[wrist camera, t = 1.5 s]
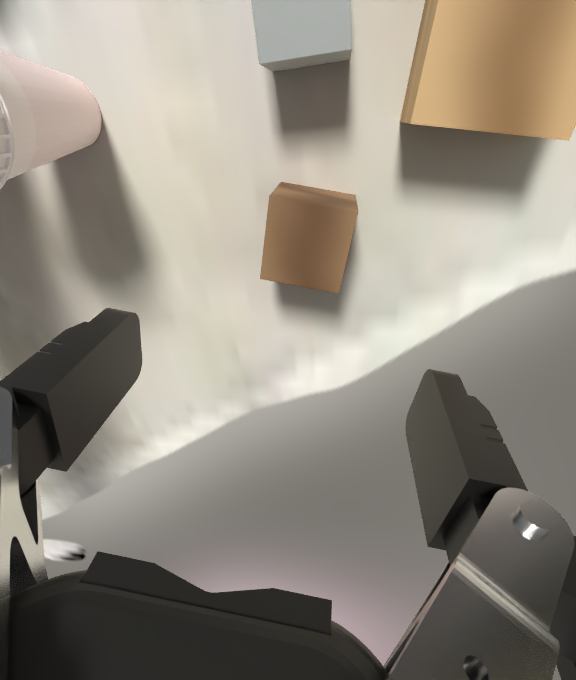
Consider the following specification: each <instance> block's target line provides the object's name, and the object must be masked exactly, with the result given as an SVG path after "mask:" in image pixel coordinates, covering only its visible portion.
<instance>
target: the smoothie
mask: <svg viewBox="0 0 576 680" xmlns="http://www.w3.org/2000/svg"><path fill="white" fill-rule="evenodd" d="M101 125H102V119H101V112H100V109H99V106H98V103H97V101H96V99H95V97H94V95H93V94H92V92H91V91H90V90H89V89H88V88H87V86H86V85H85V84H83V83H82V82H81V81H80V80H78V79H77V78H75V77H72V76H70V75H67V74H64V73H62V72H59V71H56V70H53V69H50V68H48V67H45V66H42V65H39V64H36V63H34V62H31V61H28V60H25V59H22V58H20V57H17V56H14V55H11V54H8V53H6V52H3V51H0V189H1V188H2V187H3V185H4V184H5V183H6V181H7V180H8V179H11V178H14V177H16V176H18V175H20V174H22V173H25V172H27V171H30V170H32V169H34V168H37V167H39V166H42V165H44V164H46V163H49V162H51V161H54V160H56V159H58V158H61V157H63V156H66V155H68V154H71V153H73V152H75V151H78V150H80V149H83V148H85V147H87V146H90V145H91V144H93V143H94V142H95V141H96V140H97V138H98V136H99V134H100V131H101Z"/></svg>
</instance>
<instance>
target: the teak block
mask: <svg viewBox="0 0 576 680" xmlns="http://www.w3.org/2000/svg"><path fill="white" fill-rule="evenodd" d="M400 122H404V123H409V124H416V125H426V126H435V127H445V128H454V129H464V130H473V131H483V132H492V133H502V134H511V135H521V136H530V137H540V138H549V139H559V140H568V141H569V139H570V137H571V135H572V132H573V130H574V128H575V125H576V0H425V5H424V10H423V15H422V19H421V24H420V29H419V33H418V38H417V43H416V48H415V52H414V57H413V62H412V67H411V71H410V76H409V81H408V86H407V90H406V95H405V100H404V104H403V109H402V114H401V119H400Z"/></svg>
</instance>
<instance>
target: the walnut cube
mask: <svg viewBox="0 0 576 680" xmlns="http://www.w3.org/2000/svg"><path fill="white" fill-rule="evenodd" d="M357 215H358V207H357V202H356V196H355V195H352V194H347V193H341V192H335V191H330V190H324V189H318V188H313V187H307V186H301V185H295V184H290V183H284V182H281V183H280V184H279V185H278V186H277V188H276V189H275V190H274V191H273V192H272V193H271V195H270V196H269V204H268V213H267V222H266V231H265V240H264V249H263V258H262V266H261V275H260V279H263V280H269V281H274V282H280V283H285V284H291V285H296V286H302V287H307V288H312V289H318V290H323V291H329V292H334V293H339V291H340V287H341V283H342V278H343V274H344V270H345V266H346V261H347V257H348V253H349V249H350V244H351V240H352V236H353V232H354V227H355V223H356V219H357Z"/></svg>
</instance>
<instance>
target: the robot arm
mask: <svg viewBox="0 0 576 680" xmlns="http://www.w3.org/2000/svg"><path fill="white" fill-rule="evenodd" d="M141 366H142V351H141V338H140V325H139V318H138V316H137V314H136V313H132V312H127V311H121V310H116V309H111V308H107V309H105V310H103V311H102V312H101V313H100V314H98V315H97V316H96V317H95V318H94V319H92V320H91V321H90V322H89V323H88V322H83V323H81V324H78V325H76V326H74V327H71V328H69V329H66V330H65V331H63V332H62V333H61V334H60V335H58V336H57V337H56V338H55V339H53V340H52V343H48V344H47V345H46V346H44V347H43V348H42V349H41V350H40V352H37V353H36V354H34V355H33V356H32V357H30V358H29V359H28V360H27V361H25V362H24V363H23V364H22V365H20V366H19V367H18V368H17V369H15V370H14V371H13V372H11V373H10V374H9V375H8V376H6V377H5V378H4V379H3V380H1V381H0V680H552V679H553V675H554V671H555V667H556V665H557V668H558V671H559V674H560V677H561V680H576V536H574V535H573V533H572V531H571V529H570V527H569V525H568V523H567V522H566V521H565V519H564V518H563V517H562V516H561V514H560V513H559V512H558V511H557V510H556V509H555V508H554V507H552V506H551V505H550V504H549V503H547V502H546V501H545V500H543V499H542V498H540V497H538V496H536V495H535V494H532V493H531V492H528V490H527V488H526V486H525V484H524V482H523V480H522V478H521V476H520V474H519V471H518V469H517V467H516V465H515V463H514V461H513V459H512V457H511V455H510V453H509V451H508V449H507V447H506V445H505V444H504V443H503V438H502V437H501V434H500V432H499V431H498V430H497V426H496V424H495V422H494V420H493V418H492V416H491V414H490V412H489V411H488V410H487V409H486V407H485V406H484V405H483V404H482V403H480V401H479V400H478V399H477V398H476V397H474V396H469V395H467V393H466V390H465V388H464V386H463V383H462V381H461V379H460V377H459V376H458V375H457V374H452V373H447V372H442V371H436V370H431V369H429V370H427V371H426V372H425V374H424V376H423V378H422V380H421V383H420V385H419V388H418V390H417V392H416V395H415V397H414V400H413V402H412V405H411V407H410V409H409V412H408V415H407V420H406V436H407V442H408V447H409V452H410V457H411V462H412V467H413V473H414V478H415V483H416V488H417V493H418V498H419V504H420V508H421V514H422V519H423V524H424V529H425V535H426V540H427V545H428V547H433V548H437V549H442V550H446V551H447V556H448V560H449V562H448V564H447V565H446V567H445V568H444V570H443V572H442V573H441V575H440V576H439V578H438V579H437V581H436V583H435V584H434V586H433V588H432V589H431V591H430V593H429V594H428V596H427V597H426V599H425V601H424V602H423V604H422V606H421V608H420V609H419V611H418V612H417V614H416V615H415V617H414V619H413V620H412V622H411V624H410V625H409V627H408V629H407V630H406V632H405V633H404V635H403V636H402V638H401V640H400V641H399V643H398V644H397V646H396V647H395V649H394V650H393V652H392V653H391V655H390V657H389V658H388V660H387V661H386V663H385V665H384V666H382V664H381V663H380V662H379V660H378V659H377V658H376V657H375V656H374V655H373V654H372V652H371V651H370V650H369V649H368V648H367V647H366V646H365V645H364V644H363V643H362V642H361V641H360V640H359V639H357V638H356V637H355V636H354V635H353V634H352V633H350V632H349V631H347V630H346V629H345V628H343V627H342V626H340V625H339V624H337V623H335V622H333V621H331V608H332V606H331V605H332V601H331V600H327V599H322V598H318V597H313V596H308V595H303V594H299V593H294V592H289V591H284V590H279V589H274V588H270V589H257V590H245V591H232V592H219V593H210V592H206V591H204V590H202V589H200V588H198V587H196V586H194V585H193V584H191V583H189V582H187V581H185V580H184V579H182V578H180V577H178V576H176V575H175V574H173V573H171V572H169V571H167V570H165V569H164V568H162V567H160V566H158V565H156V564H155V563H150V562H146V561H141V560H136V559H131V558H127V557H122V556H117V555H112V554H108V553H103V552H97V554H96V555H95V557H94V559H93V561H92V563H91V564H90V566H89V568H88V570H84V571H78V572H72V573H67V574H64V575H60V576H57V577H54V578H51V579H48V576H47V571H46V567H45V561H44V551H43V533H42V514H41V495H40V483H39V480H38V477H39V476H40V475H41V474H42V472H43V471H44V470H45V469H46V468H51V469H56V470H61V471H67V470H68V469H69V467H70V466H71V465H72V464H73V462H74V461H75V460H76V458H77V457H78V456H79V454H80V453H81V452H82V451H83V449H84V448H85V447H86V445H87V444H88V443H89V441H90V440H91V439H92V438H93V436H94V435H95V434H96V432H97V431H98V430H99V428H100V427H101V426H102V424H103V423H104V422H105V421H106V419H107V418H108V417H109V415H110V414H111V413H112V411H113V410H114V409H115V408H116V406H117V405H118V404H119V402H120V401H121V400H122V398H123V397H124V396H125V395H126V393H127V392H128V391H129V389H130V388H131V387H132V385H133V384H134V383H135V381H136V380H137V378H138V376H139V374H140V371H141Z"/></svg>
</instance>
